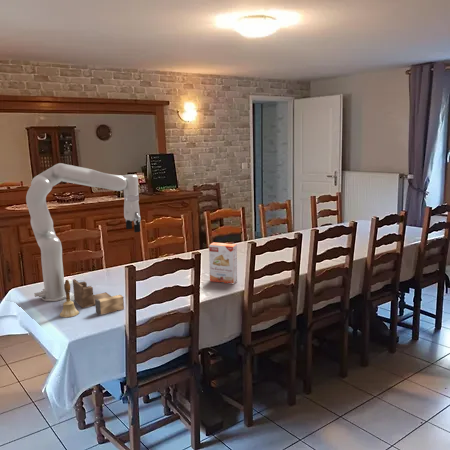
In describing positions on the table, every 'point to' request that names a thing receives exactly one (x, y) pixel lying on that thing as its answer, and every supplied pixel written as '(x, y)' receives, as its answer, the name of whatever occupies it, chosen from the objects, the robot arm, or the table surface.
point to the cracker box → (223, 262)
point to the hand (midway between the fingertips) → (133, 230)
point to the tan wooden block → (109, 304)
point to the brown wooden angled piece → (86, 294)
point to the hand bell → (68, 303)
